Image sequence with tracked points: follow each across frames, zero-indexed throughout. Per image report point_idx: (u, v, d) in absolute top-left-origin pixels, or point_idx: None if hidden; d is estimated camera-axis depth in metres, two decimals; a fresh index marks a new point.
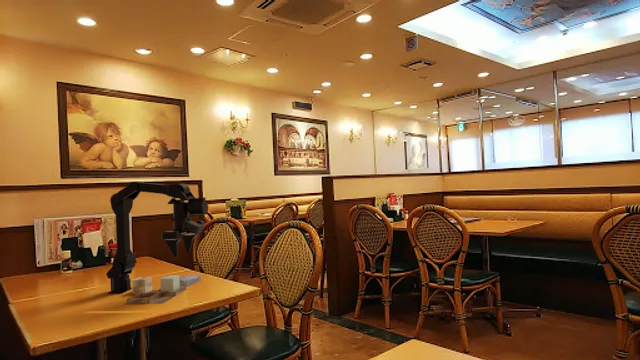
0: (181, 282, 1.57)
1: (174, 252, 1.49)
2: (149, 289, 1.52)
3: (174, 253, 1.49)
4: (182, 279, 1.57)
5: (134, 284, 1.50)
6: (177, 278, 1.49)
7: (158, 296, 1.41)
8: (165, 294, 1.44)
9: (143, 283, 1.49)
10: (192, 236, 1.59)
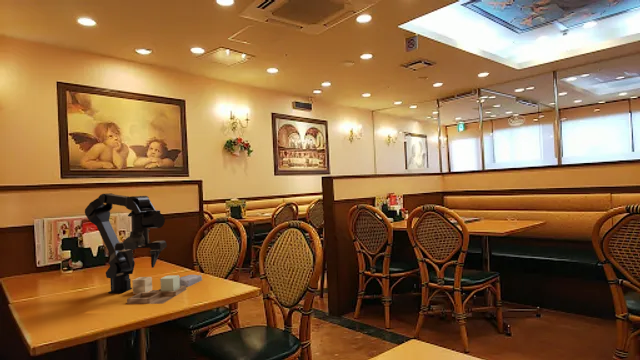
0: (182, 282, 1.57)
1: None
2: (149, 289, 1.52)
3: None
4: (183, 279, 1.57)
5: (134, 284, 1.50)
6: (177, 278, 1.49)
7: (158, 296, 1.41)
8: (165, 294, 1.44)
9: (143, 283, 1.49)
10: None
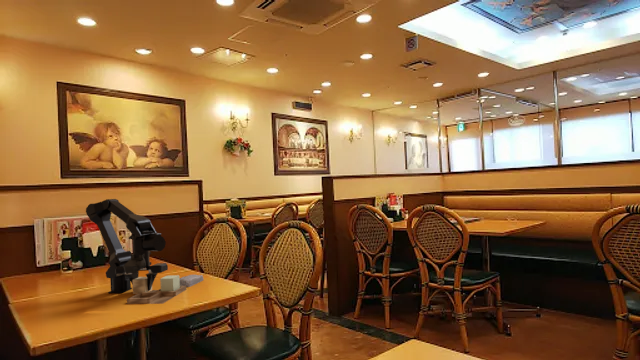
0: (183, 282, 1.56)
1: None
2: None
3: None
4: (184, 279, 1.57)
5: (134, 284, 1.50)
6: (177, 278, 1.49)
7: (158, 296, 1.41)
8: (165, 294, 1.44)
9: (143, 283, 1.49)
10: None
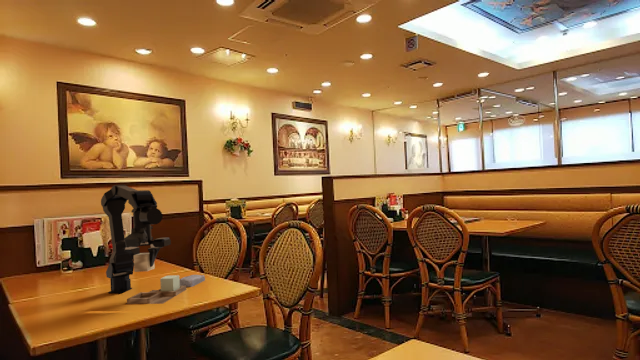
0: (185, 282, 1.56)
1: None
2: None
3: None
4: (186, 279, 1.57)
5: (135, 259, 1.41)
6: (177, 278, 1.49)
7: (158, 296, 1.41)
8: (165, 294, 1.44)
9: (145, 258, 1.40)
10: None
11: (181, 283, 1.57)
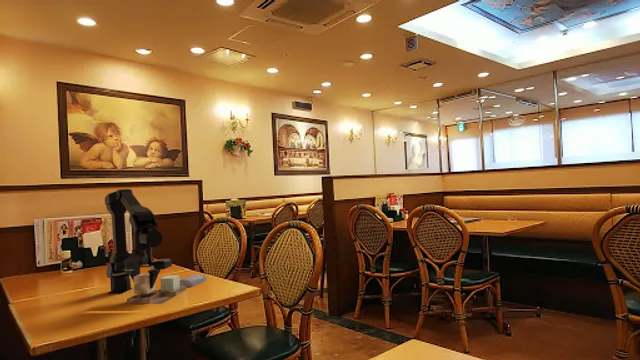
0: (187, 282, 1.56)
1: None
2: None
3: None
4: (188, 279, 1.56)
5: (135, 281, 1.38)
6: (177, 278, 1.49)
7: (158, 296, 1.41)
8: (165, 294, 1.44)
9: (145, 280, 1.38)
10: None
11: (182, 283, 1.57)
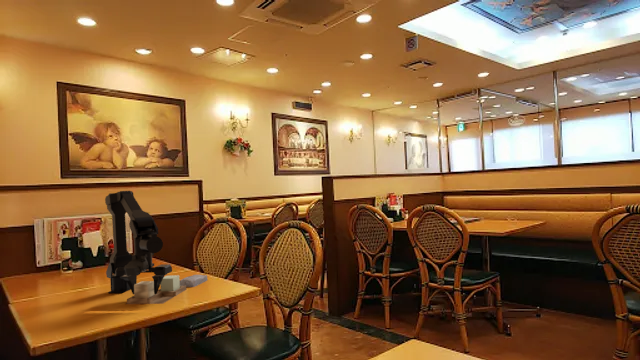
0: (188, 282, 1.56)
1: None
2: (152, 294, 1.40)
3: None
4: (189, 279, 1.56)
5: (136, 289, 1.38)
6: (177, 278, 1.49)
7: (158, 296, 1.41)
8: (165, 294, 1.44)
9: (145, 288, 1.37)
10: None
11: (184, 283, 1.57)
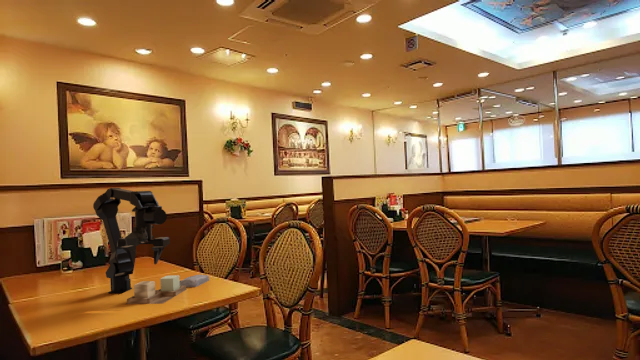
0: (190, 282, 1.56)
1: None
2: (152, 294, 1.40)
3: None
4: (191, 279, 1.56)
5: (136, 289, 1.38)
6: (177, 278, 1.49)
7: (158, 296, 1.41)
8: (165, 294, 1.44)
9: (145, 288, 1.37)
10: None
11: (186, 283, 1.56)
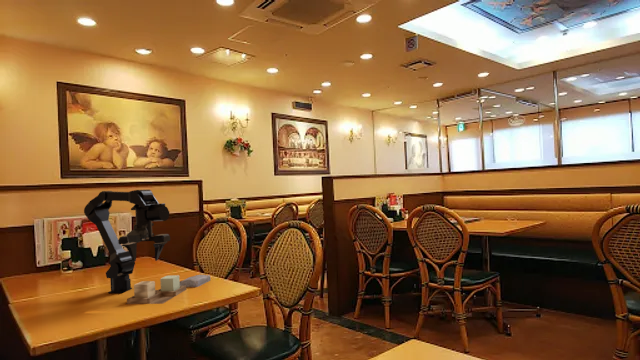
0: (191, 282, 1.56)
1: None
2: (152, 294, 1.40)
3: None
4: (192, 279, 1.56)
5: (136, 289, 1.38)
6: (177, 278, 1.49)
7: (158, 296, 1.41)
8: (165, 294, 1.44)
9: (145, 288, 1.37)
10: None
11: (187, 283, 1.56)
